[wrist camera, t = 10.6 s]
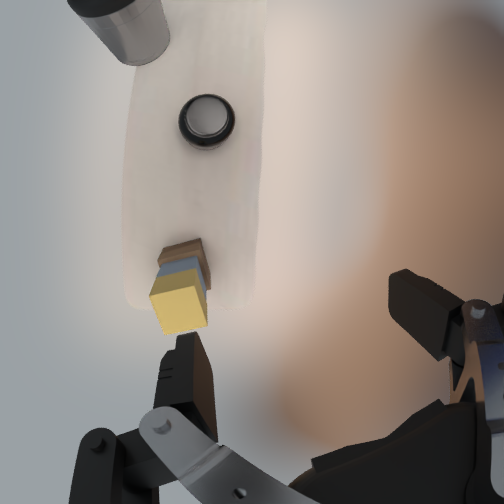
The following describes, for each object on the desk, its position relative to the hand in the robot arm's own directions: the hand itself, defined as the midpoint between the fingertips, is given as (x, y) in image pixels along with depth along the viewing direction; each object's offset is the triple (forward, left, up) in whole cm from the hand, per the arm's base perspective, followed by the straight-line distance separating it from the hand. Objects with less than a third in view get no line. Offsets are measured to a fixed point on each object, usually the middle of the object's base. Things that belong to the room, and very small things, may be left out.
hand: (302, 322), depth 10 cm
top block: (+7, -9, -22) cm, 25 cm away
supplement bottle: (-12, -1, -33) cm, 35 cm away
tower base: (+7, -9, -33) cm, 35 cm away
